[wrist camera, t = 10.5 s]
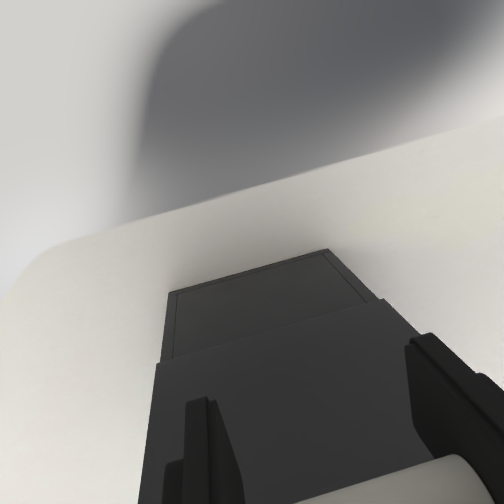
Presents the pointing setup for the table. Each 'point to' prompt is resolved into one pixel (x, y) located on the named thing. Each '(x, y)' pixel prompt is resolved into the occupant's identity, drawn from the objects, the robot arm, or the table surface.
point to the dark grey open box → (259, 302)
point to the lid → (311, 415)
